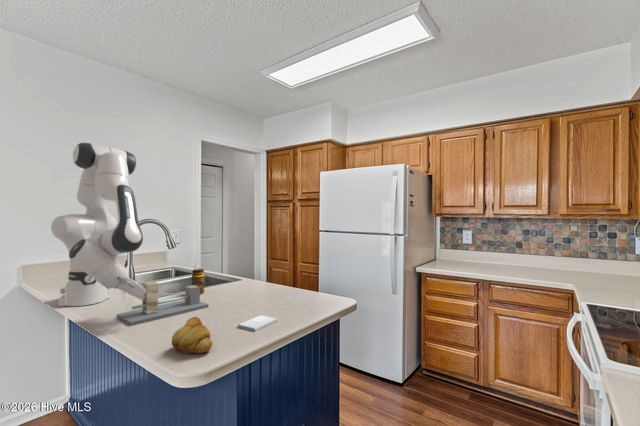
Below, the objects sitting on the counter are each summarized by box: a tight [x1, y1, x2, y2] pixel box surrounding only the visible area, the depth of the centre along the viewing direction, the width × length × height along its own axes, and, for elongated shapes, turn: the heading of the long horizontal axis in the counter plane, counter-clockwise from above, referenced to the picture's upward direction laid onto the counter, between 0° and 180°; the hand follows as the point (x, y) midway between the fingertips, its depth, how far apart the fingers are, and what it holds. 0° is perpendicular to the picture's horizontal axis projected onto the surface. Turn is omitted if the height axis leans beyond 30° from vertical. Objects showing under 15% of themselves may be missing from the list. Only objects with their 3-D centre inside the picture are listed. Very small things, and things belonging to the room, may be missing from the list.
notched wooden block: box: [141, 281, 159, 314], centre depth 122 cm, size 4×4×11 cm
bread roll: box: [171, 316, 213, 354], centre depth 93 cm, size 13×10×8 cm
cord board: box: [116, 284, 209, 327], centre depth 127 cm, size 14×30×8 cm, turn 140°
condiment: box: [191, 268, 207, 296], centre depth 156 cm, size 7×8×12 cm
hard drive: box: [237, 314, 278, 332], centre depth 114 cm, size 2×8×12 cm
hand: (142, 297), depth 120 cm, fingers closed, pressing on notched wooden block
